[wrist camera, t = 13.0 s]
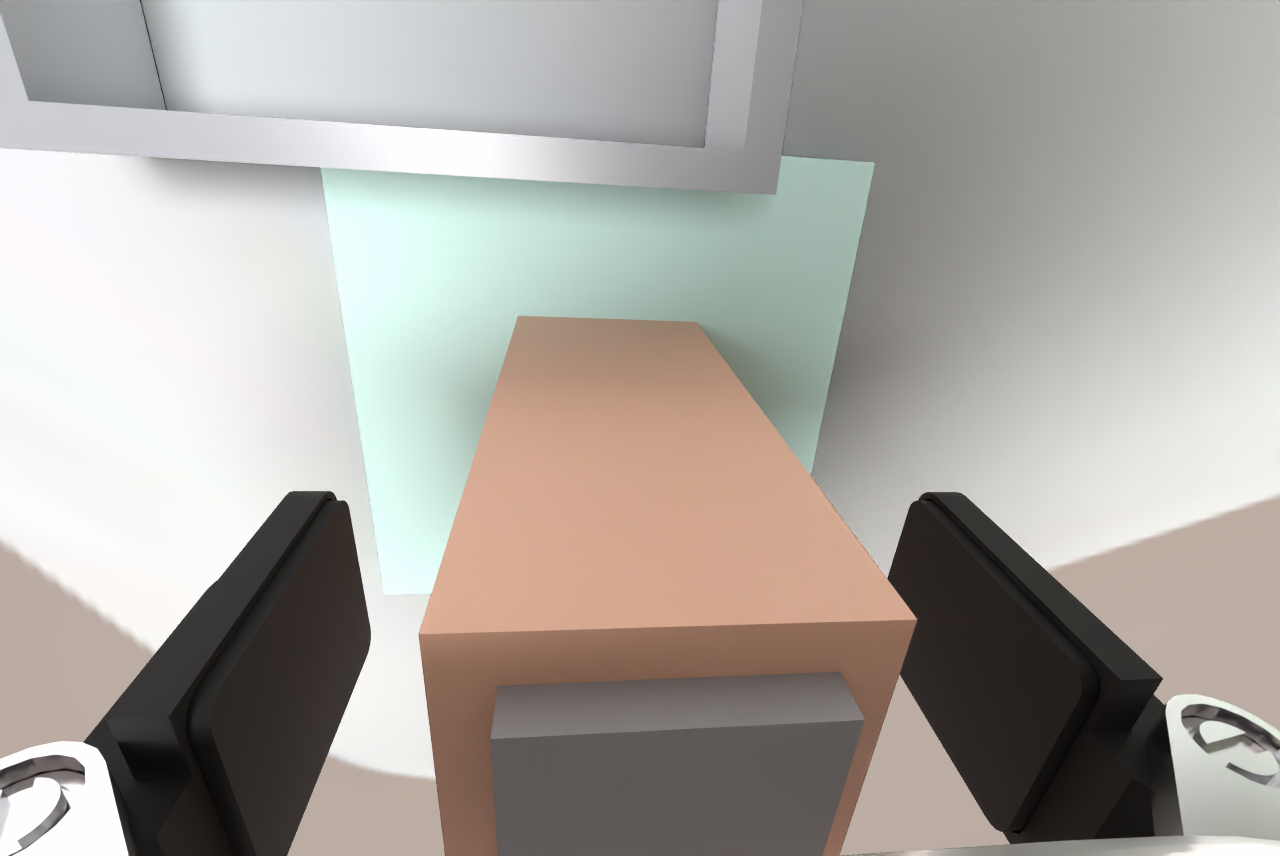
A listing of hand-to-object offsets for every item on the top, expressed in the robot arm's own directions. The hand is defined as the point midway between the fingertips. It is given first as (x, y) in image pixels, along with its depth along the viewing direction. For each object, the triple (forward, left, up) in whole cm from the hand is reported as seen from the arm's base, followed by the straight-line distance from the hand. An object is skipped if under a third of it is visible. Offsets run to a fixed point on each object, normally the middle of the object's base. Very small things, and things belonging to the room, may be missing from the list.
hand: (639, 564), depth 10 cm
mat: (0, +1, -9) cm, 9 cm away
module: (0, 0, -8) cm, 8 cm away
